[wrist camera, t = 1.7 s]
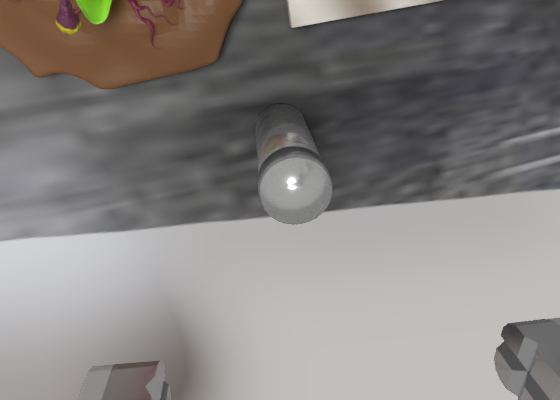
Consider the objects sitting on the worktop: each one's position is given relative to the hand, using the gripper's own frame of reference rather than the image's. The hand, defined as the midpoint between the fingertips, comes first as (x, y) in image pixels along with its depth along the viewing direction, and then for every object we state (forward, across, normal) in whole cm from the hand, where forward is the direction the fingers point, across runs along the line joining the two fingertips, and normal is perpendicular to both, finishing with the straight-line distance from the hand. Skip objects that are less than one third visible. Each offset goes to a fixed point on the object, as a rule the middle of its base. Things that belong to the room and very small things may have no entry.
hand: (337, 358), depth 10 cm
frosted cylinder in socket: (+27, -1, +3) cm, 27 cm away
